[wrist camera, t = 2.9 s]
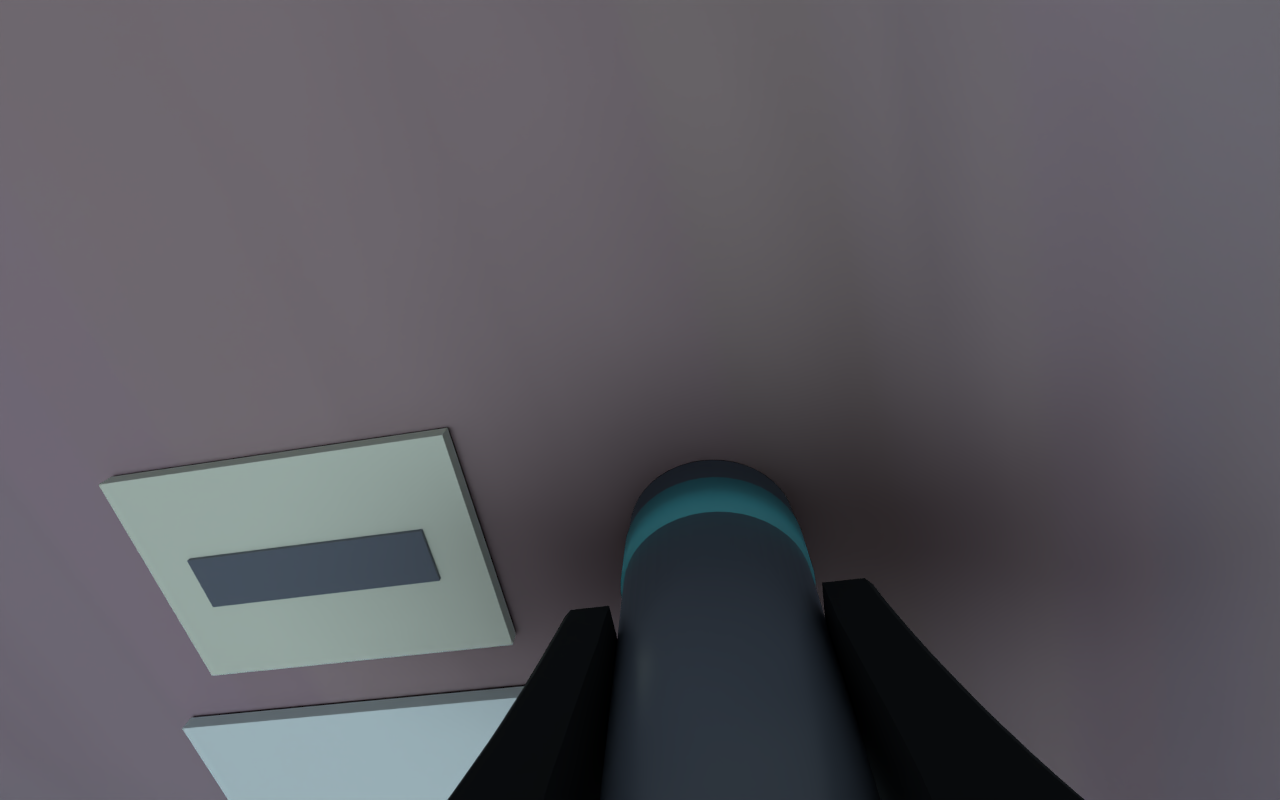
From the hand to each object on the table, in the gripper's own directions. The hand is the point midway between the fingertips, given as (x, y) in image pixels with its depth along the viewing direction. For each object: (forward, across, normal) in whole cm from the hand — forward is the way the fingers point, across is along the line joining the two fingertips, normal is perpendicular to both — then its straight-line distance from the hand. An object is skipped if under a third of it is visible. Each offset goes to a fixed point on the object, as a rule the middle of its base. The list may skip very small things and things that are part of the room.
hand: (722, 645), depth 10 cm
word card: (+3, +8, 0) cm, 9 cm away
